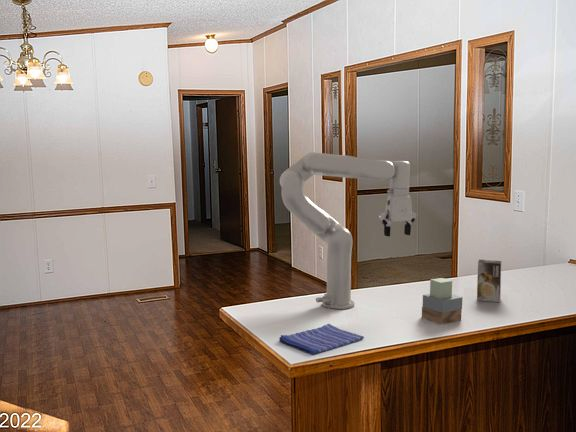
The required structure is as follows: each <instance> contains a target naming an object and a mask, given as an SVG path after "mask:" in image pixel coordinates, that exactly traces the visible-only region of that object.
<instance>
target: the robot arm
mask: <svg viewBox="0 0 576 432" xmlns="http://www.w3.org/2000/svg"><path fill="white" fill-rule="evenodd" d="M410 172H411V163H410V162H409V161H406V160H393V161H390V160H385V159H370V158H369V159H366V158H360V157H356V156H352V155H344V154H333V153H324V152H322V153H321V152H313V151H312V152H308V153H307V154H305V155H304V156H302V157H301V158H299V160H297V161H296V162H295V163H294V164H292V165H291V166H289V168H287V169H286V170H284V171H283V172H282V173H281V175H280V177H279V185H280V187H281V199H282V202H283V205H284V206H285V208H286V209H287V210H288V211H289V212H290V213H291V214H292V215H293V216H294V217H296V218H297V220H299V222H301V223H303V224H304V226H305V227H306V228H307V229H308V230H310V231H311V232H312V233H314V234H315V235H316V236H317V237H318V238H319V239H320V240H322V241H323V242H324V243H326V244H327V252H326V292H325V293H324V295H323V296H322V297H321V296H320V297H318V296H317V297H316V298H315V302H316V303H322V305H323V307H325V308H328V309H334V310H346V309H350V308H351V309H352V308H353V307H355V301H354V300H352V299H351V296H352V295H351V291H352V288H351V286H352V252H353V251H352V249H353V243H354V242H353V236H352V233H351V231H349V230H348V228H346V227H345V226H343V225H342V224H340V223H339V222H338V221H337V220H335V219H334V217H332V216H330V214H329V213H327V212H326V211H325V210H324V209H323V208H321V207H318V205H316V204H315V202H313V201H312V200H311V199H309V197H308V196H306V194H305V193H304V189H303V188H304V186H305V185H304V184H305V182H307V181H308V180H309V179H311V178H312V177H313V176H323V177H324V176H325V177H336V178H346V179H364V180H372V181H373V180H374V181H389V189H387V191H386V193H387V194H389V195H388V196H387V199H386V203H385V211H383V212H382V213H380V214H379V215H378V217H379V220H380V222H381V224H382V226H384V227H383V235H384V236H385V237H390V236H391V228H392V227H391V224H392V223H393V222H394V223H399V222H400V223H402V222H404V223H405V224H404V229H403V230H404V232H403V233H404V235H407V236H411V233H412V232H411V231H412V226H413V223H414V222H415V221H416V218H417V214H418V213H416V212H415V211H413V203H412V197H411V195H410V175H411V173H410Z"/></svg>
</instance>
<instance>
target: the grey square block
mask: <svg viewBox="0 0 576 432" xmlns="http://www.w3.org/2000/svg"><path fill="white" fill-rule="evenodd" d="M422 307H425V308H428V309H431V310H434V311H437V312H440V313H446V312H451V311H456V310H463V296H459V295H456V294H453V293H452V297H449V298H442V299H439V298H436V297H433V296H430V293H426V294H422Z"/></svg>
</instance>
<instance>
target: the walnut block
mask: <svg viewBox="0 0 576 432" xmlns="http://www.w3.org/2000/svg"><path fill="white" fill-rule="evenodd" d="M462 310H463V309H461V310H456V311H451V312H446V313H440V312H437V311H434V310H431V309H428V308H425V307H423V306H421V318H422V317H423V318H422V319H425V320H427V321H430V322H433V323H436V324H438V325H444V324H450V323H454V322H455V323H456V322H460V321H462Z"/></svg>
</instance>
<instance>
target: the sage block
mask: <svg viewBox="0 0 576 432" xmlns="http://www.w3.org/2000/svg"><path fill="white" fill-rule="evenodd" d="M429 282H430V284H429V285H430V286H429V294H430V296H433V297H436V298H439V299H442V298H449V297H452V294H453V293H452V292H453V280H449V279H447V278H444V277H440V278H439V277H438V278H431V279H430V281H429Z"/></svg>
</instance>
